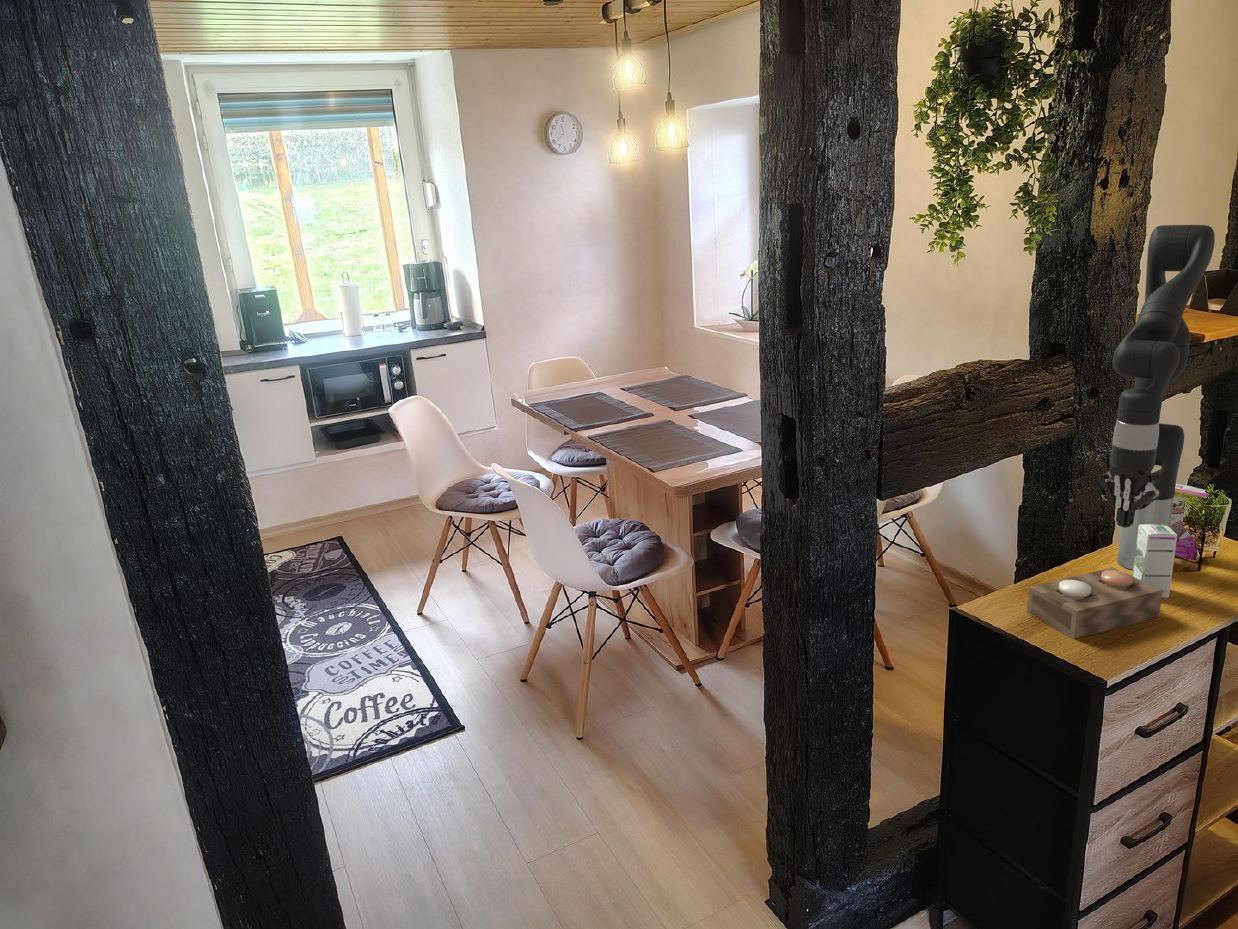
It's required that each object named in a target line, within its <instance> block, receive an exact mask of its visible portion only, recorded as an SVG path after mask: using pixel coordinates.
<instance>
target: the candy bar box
mask: <svg viewBox="0 0 1238 929" xmlns="http://www.w3.org/2000/svg"><path fill="white" fill-rule="evenodd" d="M1205 490H1206V489H1204V488H1199V487H1195V486H1191V485H1186V484H1182V483H1178V482H1176V486H1175V494H1174V501H1173V507H1172V515H1171V521H1170V525H1171V526H1172V531H1174V532H1175V533H1176V534H1177V541H1176V549H1175V556H1177V557H1176V558H1178V557H1180V558H1179V559H1181V558H1186V559H1191V560H1196V559H1197V557H1198V549H1197V546H1196V540H1193V539H1194V538H1193V537H1192V536H1191V535H1190V534H1189V533H1188V532H1187V531H1186V530H1185V529H1184V528H1183V516H1184V512H1185V508H1184V507H1185V505H1184V503H1185V502H1187V500H1188V499H1189V498H1190V497H1201V498H1205V499H1206V498H1207V497H1210V496H1211V495H1210V494H1209V495H1208V494H1207V493H1206V492H1205ZM1179 497H1180V501H1179Z"/></svg>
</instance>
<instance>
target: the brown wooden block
mask: <svg viewBox="0 0 1238 929" xmlns="http://www.w3.org/2000/svg"><path fill="white" fill-rule="evenodd" d="M1107 570H1116V571H1120V570H1119V569H1117V568H1115V567H1109V568H1103V569H1100V570H1099V569H1098V570H1095V571H1090V572H1087V573H1082V574H1078V575H1077V574H1076V575H1073V576H1069V577H1065V578H1061V579H1057V580H1053V581H1048V582H1044V583H1040V584H1035V585H1031V586H1029V588H1028V597H1027V608H1026V614H1028V613H1030V614H1032V615H1034V616H1035V617H1036V618H1035V617H1034V618H1035V619H1037V618H1038V619H1041V620H1042V621H1044V622H1045V623H1044V622H1043V623H1044V624H1046V625H1047V624H1048V625H1047V626H1049V627H1051V628H1053V629H1055V630H1056V631H1058V632H1060V633H1062V634H1064V635H1066V636H1068V637H1069V638H1071V639H1072V640H1075V639H1078V638H1079V639H1080V638H1083V637H1087V636H1091V635H1094V634H1098V633H1102V632H1106V631H1109V630H1110V631H1111V630H1114V629H1118V628H1122V627H1126V626H1129V625H1134V624H1137V623H1141V622H1144V621H1148V620H1151V619H1157V618H1160V612H1161V607H1162V599H1163V598H1162V594H1163V590H1162V589H1160V588H1158V587H1156V586H1153V585H1151V584H1149V583H1147V582H1144V581H1142V580H1140V579H1137V578H1135V577H1133V575H1131V576H1132V577H1133V584H1132V585H1131V586H1129V587H1127V588H1125V589H1121V590H1116V589H1113V588H1111V587H1109V586H1107V585H1105V583H1104V582H1102V581H1101V575H1102V572H1104V571H1107ZM1064 580H1077V581H1081V582H1084V583H1086V584H1088V585H1089V586H1090V587H1091V592H1090V595H1089V596H1087V597H1085V598H1084V599H1080V600H1076V601H1074V600H1072V599H1070V598H1068V597H1066V596H1064V595H1063V593H1061V592H1060V591H1059V583H1060V582H1061V581H1064ZM1038 619H1037V620H1038ZM1042 621H1041V622H1042Z"/></svg>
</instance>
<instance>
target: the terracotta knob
mask: <svg viewBox="0 0 1238 929" xmlns="http://www.w3.org/2000/svg"><path fill="white" fill-rule="evenodd" d="M1132 576H1133V575H1132V574H1130V573H1128V572H1124V571H1121V570H1119V571H1116V570H1107V571H1104V572H1102V575H1101V581H1102V582H1104V583H1105V585H1107V586H1109V587H1111V588H1113V589H1116V590H1121V589H1125V588H1127V587H1129V586H1131V585H1132V584H1133V577H1132Z"/></svg>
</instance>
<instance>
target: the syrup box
mask: <svg viewBox="0 0 1238 929" xmlns="http://www.w3.org/2000/svg"><path fill="white" fill-rule="evenodd" d="M1176 541H1177V534H1176V533H1175V532H1174V531H1172V530H1171V529H1170V528H1169V527H1168V526H1167V525H1161V524H1143V525H1139V529H1138V536H1137V544H1136V553H1135V561H1134V568H1133V570H1132V576H1133V577H1135V578H1137V579H1140V580H1142V581H1144V582H1147V583H1149V584H1151V585H1153V586H1156V587H1158V588H1160V589H1162V590H1163V594H1162V599H1164V598H1167V599H1169V597H1170V591H1171V585H1172V578H1173V570H1174V562H1175V558H1176V557H1175V549H1176Z"/></svg>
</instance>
